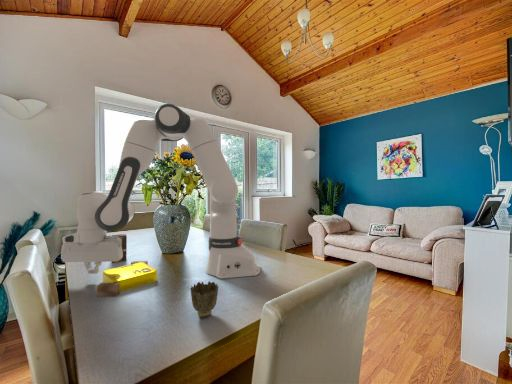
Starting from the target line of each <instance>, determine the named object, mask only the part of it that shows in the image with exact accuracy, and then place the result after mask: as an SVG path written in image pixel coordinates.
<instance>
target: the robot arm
mask: <svg viewBox="0 0 512 384" xmlns="http://www.w3.org/2000/svg"><path fill="white" fill-rule="evenodd" d="M126 135H127V136H126V139H125V140H124V143H123V144H124V145H123V148H122V151H121V155H120V162H119V164H118V169H117V172H116V175H115V178H114V180H113V183H112V185H111V187H110V191H109V192H108V194H107V193H105V192H104V191H101V190H97V191H89V192H84V193H82V194H80V196H78V200H77V206H76V207H77V208H76V216H77V222H78V224H77V229H76V230H77V231H76V232H73V233H70V234H68V235H65V236H63V237H62V238H61V239H62V245H61V251H60V259H61V261H62V262H63V263H83V266H84V267H85V269H86V270H87V274H88V275H89V274H90V275H91V274H92V275H95V274H98V273H99V268H100V267H101V264H102V263H103V262H105V263H106V262H108V263H109V262H110V263H111V262H112V263H117V262H116V261H118V262H120V261H119V260H120V259H121V258H122V257H123V251H122V239H121V238H120V237H118V236H112V235H107V232H114V233H115V232H119V231H120V230H122V229H123V228H125V227H126V225H127V224H128V223H129V222H130V221H131V220H133V218H134V216H135V206H134V205H132V203H130V198H131V195H132V193H133V191H134V187H135V184H136V182H137V180H138V178H139V177H140V176H141V175H142V174H143V173H144V172H145V171H146V170H148V169H149V168H150V166H151V164H152V162H153V160H154V158H155V155H156V153H157V149H158V146H159V144H160V142H161V141H163V142H178V141H181V140H183V139H184V140H186V142H187V144H188V146H189V148H190V151H191V153H192V156H193V158H194V159H195V162H196V165H197V166H198V169H199V171H200V173H201V176H202V179H203V181H204V183H205V185H206V188H207V190H208V192H209V237H208V251H209V254H208V261H207V266H206V269H205V272H206V273H207V274H208V275H210V276H214V277H216V278H218V279H230V278H231V279H232V278H244V277H253V276H254V277H255V276H258V275H260V273H261V265H260V264H259V263H257V262H256V259H255V256H254V254H253V252H252V251H250V250H249V249H247V248H246V247H245V246H244V245H243V239H242V237H241V236H239V235H238V234H237V233H238V228H237V227H238V222H237V219H238V217H237V203H236V199H237V197H238V193H239V187H238V184H237V182H236V179H235V177H234V175H233V172H232V171H231V169H230V167H229V164H228V163H227V161H226V159H225V156H224V154H223V151H222V149H221V147H220V145H219V142H218V140H217V138H216V136H215V133H214V132H213V130H212V129H211V127H210V125H209V124H208V122H207V121H206V120H205V119H204V118H193V119H191V117H190V115H188V114H187V113H186V112H184V111H183V110H182V109H181V108H180V107H178V106H177V105H175V104H171V103H164V104H162V105H160V106H159V107H158V108H157V109H156V111H155V113H154V119H149V118H145V117H144V118H137V119H135V121H134V122H133V124H132V126H131V127H130V129H129V131H128V133H127V134H126ZM112 238H113V239H112ZM92 263H94V267H93V266H92Z"/></svg>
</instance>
